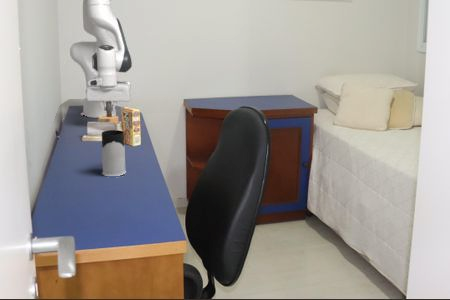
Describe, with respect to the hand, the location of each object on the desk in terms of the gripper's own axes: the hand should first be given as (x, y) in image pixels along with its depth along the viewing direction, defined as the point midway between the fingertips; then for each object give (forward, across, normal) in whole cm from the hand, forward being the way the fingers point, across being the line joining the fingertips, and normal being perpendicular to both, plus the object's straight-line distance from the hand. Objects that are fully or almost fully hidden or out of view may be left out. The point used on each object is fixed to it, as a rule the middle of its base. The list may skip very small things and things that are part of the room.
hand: (109, 110), depth 251 cm
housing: (+8, 0, +12) cm, 14 cm away
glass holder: (+10, -14, +64) cm, 67 cm away
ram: (+8, 0, +1) cm, 8 cm away
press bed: (+10, 0, +8) cm, 13 cm away
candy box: (+10, -14, +24) cm, 30 cm away
